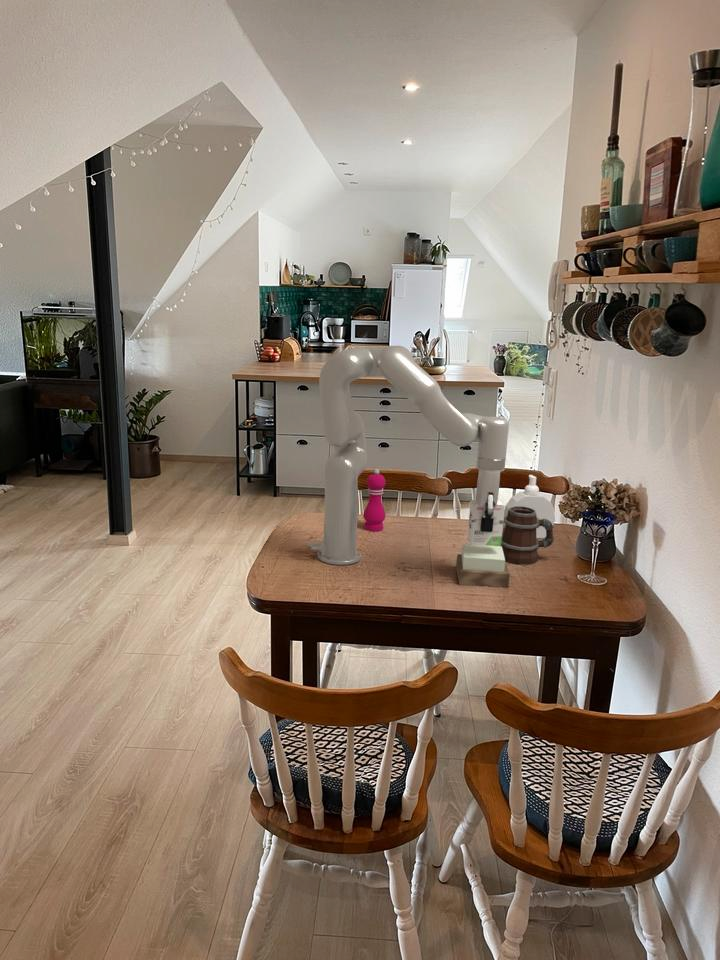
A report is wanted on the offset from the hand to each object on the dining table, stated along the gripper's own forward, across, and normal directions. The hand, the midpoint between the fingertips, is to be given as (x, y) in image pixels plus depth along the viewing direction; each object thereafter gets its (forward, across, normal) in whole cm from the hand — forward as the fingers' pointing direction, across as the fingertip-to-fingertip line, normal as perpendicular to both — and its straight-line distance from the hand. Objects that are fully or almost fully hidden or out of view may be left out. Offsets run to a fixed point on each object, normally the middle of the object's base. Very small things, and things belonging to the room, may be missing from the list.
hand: (485, 527), depth 201 cm
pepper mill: (+15, -36, -31) cm, 50 cm away
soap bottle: (+15, -38, +19) cm, 45 cm away
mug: (+15, -17, +15) cm, 27 cm away
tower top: (+11, 0, 0) cm, 11 cm away
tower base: (+15, 0, 0) cm, 15 cm away
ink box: (+5, 0, 0) cm, 5 cm away
